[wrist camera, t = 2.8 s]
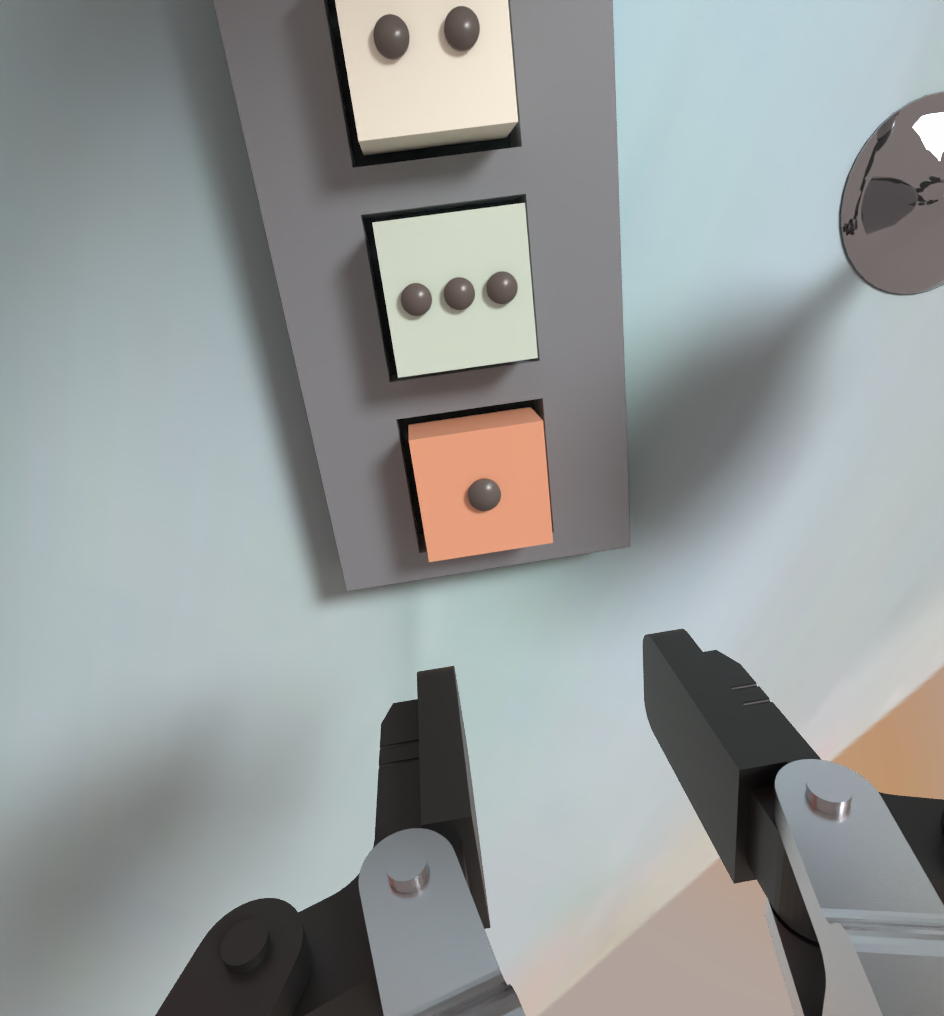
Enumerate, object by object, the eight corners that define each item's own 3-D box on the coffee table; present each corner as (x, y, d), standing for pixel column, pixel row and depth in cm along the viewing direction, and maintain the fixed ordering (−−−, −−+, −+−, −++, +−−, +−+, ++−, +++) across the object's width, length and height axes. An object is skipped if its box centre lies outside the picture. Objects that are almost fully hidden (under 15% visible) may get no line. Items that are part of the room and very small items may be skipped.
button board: (589, -95, 20) (608, -133, 18) (615, 528, 28) (630, 546, 26) (213, -55, 19) (193, -89, 17) (351, 569, 27) (347, 591, 25)
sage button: (512, 209, 22) (525, 201, 19) (525, 349, 23) (539, 358, 21) (375, 227, 21) (371, 222, 19) (398, 367, 23) (398, 378, 21)
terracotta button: (530, 406, 24) (544, 422, 22) (540, 519, 26) (554, 545, 23) (408, 424, 24) (408, 441, 21) (426, 536, 26) (429, 564, 23)
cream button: (490, -41, 19) (502, -87, 17) (505, 137, 21) (519, 120, 18) (333, -24, 19) (323, -68, 16) (363, 155, 20) (357, 139, 18)
